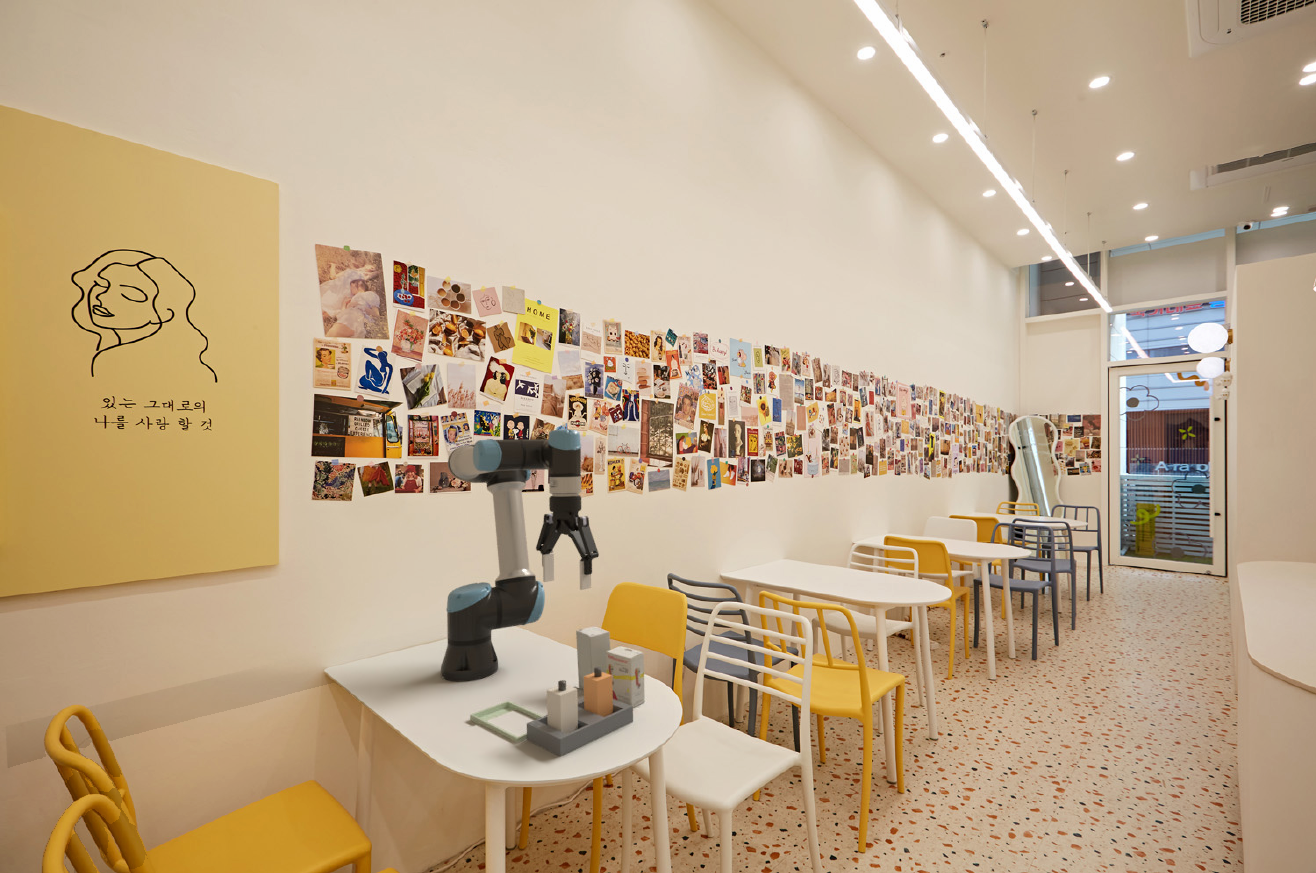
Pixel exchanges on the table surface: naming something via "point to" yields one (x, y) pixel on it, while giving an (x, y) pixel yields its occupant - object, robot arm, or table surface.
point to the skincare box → (591, 651)
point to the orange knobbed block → (598, 693)
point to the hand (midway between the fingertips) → (566, 584)
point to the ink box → (626, 674)
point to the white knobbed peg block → (562, 708)
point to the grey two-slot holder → (579, 729)
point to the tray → (497, 711)
